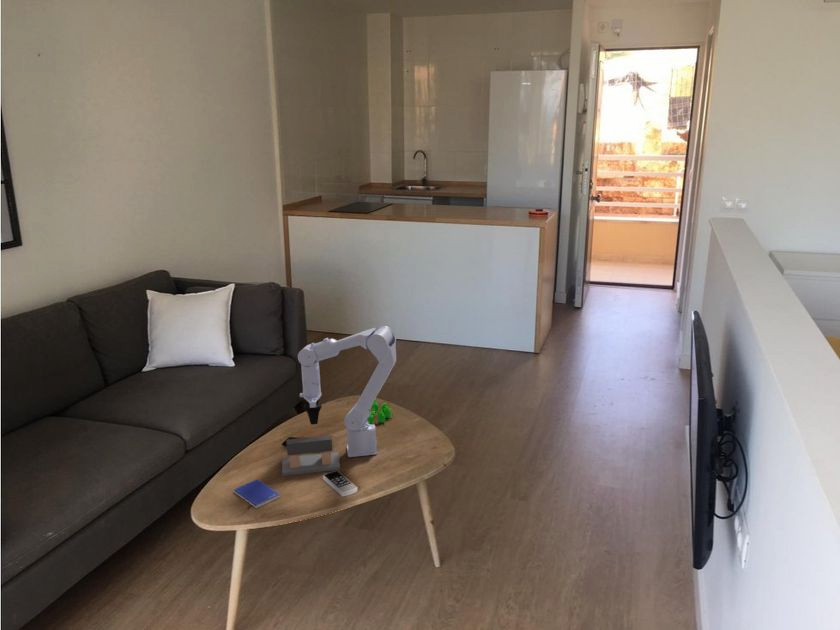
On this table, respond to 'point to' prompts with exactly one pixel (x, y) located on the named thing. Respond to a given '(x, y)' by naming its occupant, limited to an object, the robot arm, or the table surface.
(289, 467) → the display stand
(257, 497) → the hard drive
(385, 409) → the green bumpy cluster
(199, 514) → the table surface
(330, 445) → the dark gray bar
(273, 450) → the table surface
